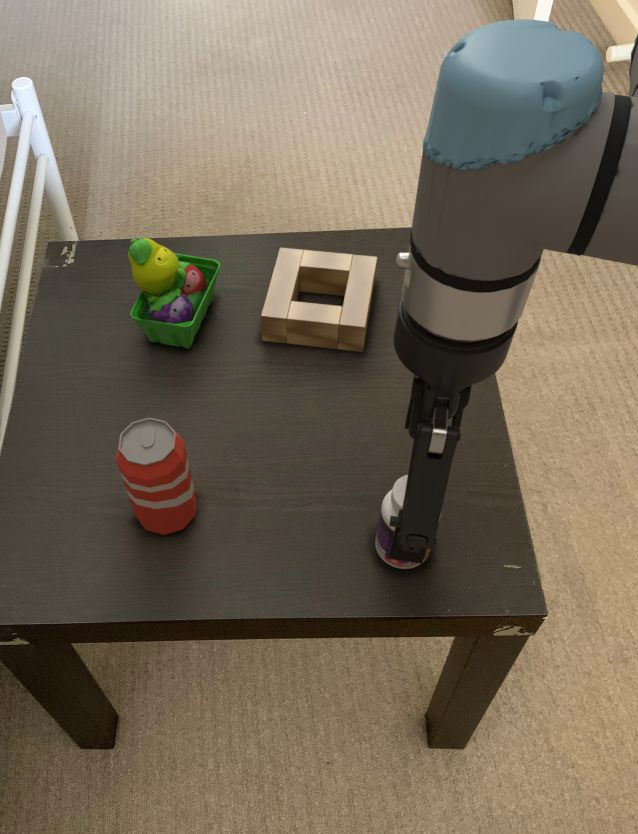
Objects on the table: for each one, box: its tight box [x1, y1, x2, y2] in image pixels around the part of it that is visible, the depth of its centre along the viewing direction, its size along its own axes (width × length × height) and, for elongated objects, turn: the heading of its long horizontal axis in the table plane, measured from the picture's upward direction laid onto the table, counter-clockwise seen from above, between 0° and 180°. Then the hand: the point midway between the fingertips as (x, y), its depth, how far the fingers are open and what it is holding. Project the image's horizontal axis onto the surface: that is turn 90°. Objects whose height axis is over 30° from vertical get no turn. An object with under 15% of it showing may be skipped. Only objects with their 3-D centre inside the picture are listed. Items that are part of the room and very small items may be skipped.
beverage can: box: [115, 417, 197, 536], centre depth 72 cm, size 6×6×12 cm
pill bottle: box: [374, 474, 442, 570], centre depth 69 cm, size 5×5×10 cm
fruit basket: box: [127, 237, 221, 349], centre depth 87 cm, size 11×9×11 cm
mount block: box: [260, 247, 378, 353], centre depth 90 cm, size 12×12×4 cm
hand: (413, 489), depth 65 cm, fingers open, 13 cm apart
